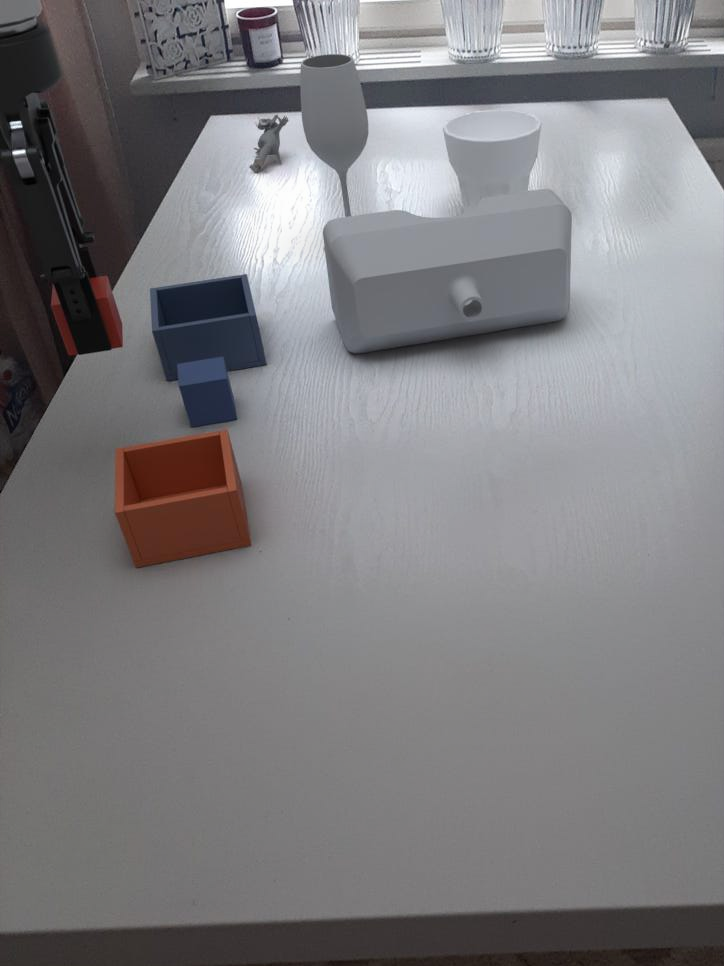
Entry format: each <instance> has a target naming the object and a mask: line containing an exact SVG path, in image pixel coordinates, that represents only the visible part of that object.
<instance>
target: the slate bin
mask: <svg viewBox="0 0 724 966" xmlns="http://www.w3.org/2000/svg"><path fill="white" fill-rule="evenodd" d="M149 294H150V295H149V297H150V298H149V299H150V300H149V301H150V317H151V332H152V336H153V340H154V343H155V346H156V349H157V353H158V356H159V360H160V363H161V366H162V369H163V373H164V376H165V380H166V381H167V382H171V381H177V380H178V370H177V364H180V363H187V362H193V361H199V360H205V359H211V358H217V357H224V360H225V364H226V368H227V372H232V371H238V370H243V369H248V368H249V369H250V368H256V367H261V366H267V365H268V364H267V358H266V354H265V350H264V349H265V348H264V345H263V341H262V336H261V331H260V327H259V326H260V325H259V322H258V318H257V317H258V316H257V313H256V307H255V303H254V299H253V295H252V291H251V286H250V282H249V278H248V274H247V273H244V274H238V275H230V276H224V277H217V278H211V279H205V280H197V281H191V282H184V283H178V284H170V285H164V286H158V287H151V288H149Z"/></svg>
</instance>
